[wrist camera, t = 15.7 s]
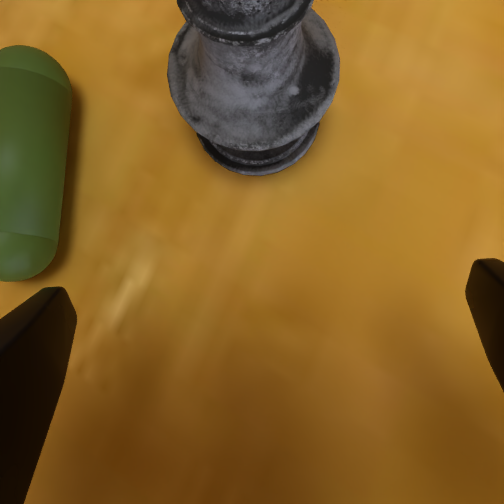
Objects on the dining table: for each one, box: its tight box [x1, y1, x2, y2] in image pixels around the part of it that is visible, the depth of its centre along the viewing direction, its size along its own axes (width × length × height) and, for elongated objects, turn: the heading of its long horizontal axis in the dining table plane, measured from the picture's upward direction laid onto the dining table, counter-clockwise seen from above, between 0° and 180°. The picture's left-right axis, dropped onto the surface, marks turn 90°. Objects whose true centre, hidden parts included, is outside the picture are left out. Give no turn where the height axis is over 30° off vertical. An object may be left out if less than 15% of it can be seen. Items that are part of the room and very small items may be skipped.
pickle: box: [0, 45, 72, 282], centre depth 17 cm, size 9×3×3 cm, turn 178°
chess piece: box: [167, 0, 340, 176], centre depth 12 cm, size 6×6×12 cm
